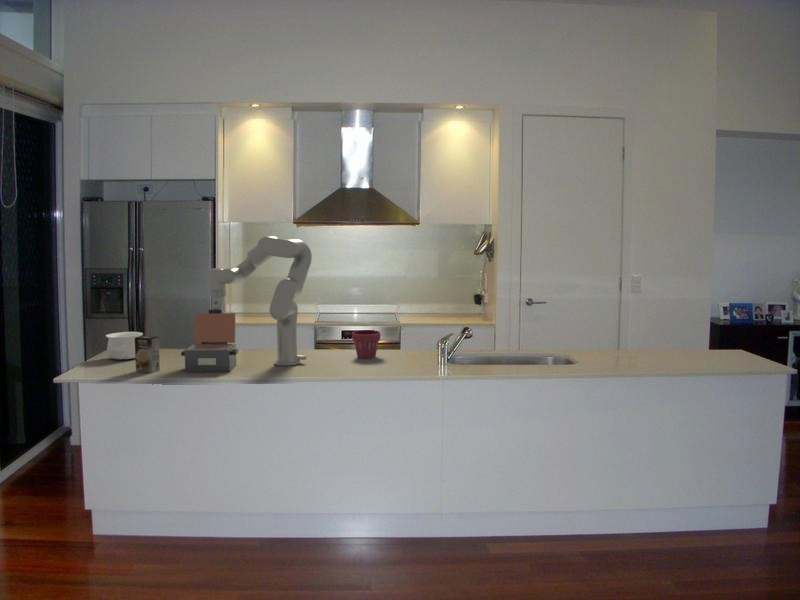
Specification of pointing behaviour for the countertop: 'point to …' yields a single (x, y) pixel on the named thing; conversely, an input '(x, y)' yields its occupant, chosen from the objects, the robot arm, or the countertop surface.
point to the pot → (122, 345)
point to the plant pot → (366, 343)
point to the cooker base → (210, 357)
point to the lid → (215, 327)
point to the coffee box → (147, 354)
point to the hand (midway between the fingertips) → (219, 330)
